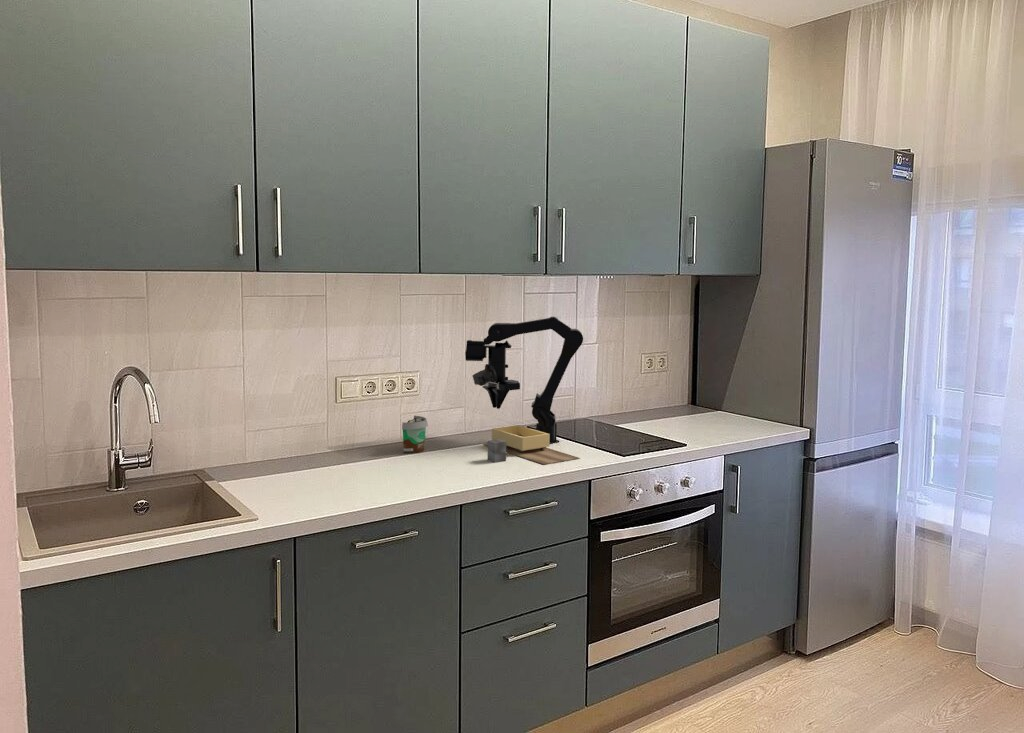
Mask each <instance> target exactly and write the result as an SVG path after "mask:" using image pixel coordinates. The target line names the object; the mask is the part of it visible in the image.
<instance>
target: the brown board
mask: <svg viewBox="0 0 1024 733" xmlns="http://www.w3.org/2000/svg"><path fill="white" fill-rule="evenodd" d="M482 445H484V446H486V447H488V442H485V443H484V442H483V443H482ZM506 454H509V455H512V456H515V457H519V458H521V459H525V460H526V461H527V460H528V461H530V462H534V463H536V464H539V465H542V466H545V465H552V464H556V463H563V462H569V461H574V460H580V459H581V458H580V457H578V456H576V455H572V454H568V453H565V452H561V451H558V450H556V449H553V448H552V449H551V448H549V447H546V448H545V449H540V448H536V449H530V450H524V452H520V453H519V452H518V451H517V449H516V448H513V447H510V446H507V445H506Z"/></svg>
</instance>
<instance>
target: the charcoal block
mask: <svg viewBox="0 0 1024 733" xmlns="http://www.w3.org/2000/svg"><path fill="white" fill-rule="evenodd" d="M487 443H488V446H487V461H489V462H491V463H495V464H496V463H497V464H498V463H503V462H506V461H507V453H506V441H503V440H499V439H497V440H492V439H490V440H487Z"/></svg>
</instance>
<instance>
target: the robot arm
mask: <svg viewBox="0 0 1024 733" xmlns="http://www.w3.org/2000/svg"><path fill="white" fill-rule="evenodd" d="M548 330H552V331H553V332H555V333H556V334H557V335H559V336H560V337H562V339H564V340H563V344H562V348H561V351H560V355H559V357H558V359H557V361H556V363H555V366H554V368H553V370H552V372H551V374H550V375H549V379H548V381H547V383H546V385H545V386H544V387H545V388H544V389H543V391H542V392H541V393H540V394H539V393H538V392H537V393H536V395H535V397H534V400H533V402H531V407H530V408H531V409H532V410H531V414H532V417H533V418H534V419H535V420H537V422H538V423H536V424H535V426H536V427H535V429H534V430H537V431H541V432H544V433H548V434H550V443H549V445H550V444H555V443H560V440H559V439H557V434H558V433H557V428H558V423H557V422H556V414H554V413H553V411H552V410H551V408H552V404H553V401H554V396H555V395H556V392H557V390H558V387H559V385H560V384H561V381H562V380H563V377H564V375H565V373H566V371H567V368H568V367H569V364H570V362H571V359H572V358H573V357H574V356H575V355H576V353H577V352H578V350H579V349H580V347H581V346H582V344H583V343H584V335H583V334H582V332H581V330H579V329H578V328H571V327H570V326H569V325H567V324H565V323H564V322H562V321H561V320H560V319H559V318H558V317H557V316H550V317H545V318H539V319H535V320H534V319H533V320H527V321H521V322H495V323H493V324H492V325H491V326H490V327H489V328H488V330H487V336H486V337H484V338H483V340H471V339H468V340H466V348H465V354H464V355H465V361H466V362H484V359H487V360H488V361H487V362H488V363H486V364H485V365H484V369H482V370H479V371H478V372H476V373H474V374H473V375H472V380H473V383H474V385H476V386H481V387H482V388H483V389H484V390H486V392H488V393H487V394H488V396H489V399H490V402H491V405H492V408H494V409H495V408H496V409H497V410H498V409H499V410H500V409H501V408H502V405H503V403H504V401H505V400H506V397H507V396H508V393H509V392H510V391H516V390H517V391H519V390H521V382H520V381H519V380H515V379H509V376H506V370H507V369H508V368H509V364H506V363H507V362H506V359H507V357H506V354H507V350H506V349H511V348H512V345H511V344H510V343H509V341H508V340H507V339H510V338H512V337H516V336H517V335H524V334H531V333H535V332H536V333H537V332H542V331H548ZM504 340H505V341H504ZM501 341H502V342H501ZM503 341H504V342H503ZM493 343H494V345H493ZM487 350H488V353H487ZM487 355H488V356H487Z"/></svg>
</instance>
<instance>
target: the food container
mask: <svg viewBox="0 0 1024 733" xmlns="http://www.w3.org/2000/svg"><path fill="white" fill-rule="evenodd" d="M428 426H429V424H428V420H427V418H426V417H424V416H420V415H413V419H409V420H408V421H407V422H402V424H401V430H402V445H403V455H405V454H407V455H410V454H411V455H412V454H421V453H423V452H425V444H426V430H427V427H428Z"/></svg>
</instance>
